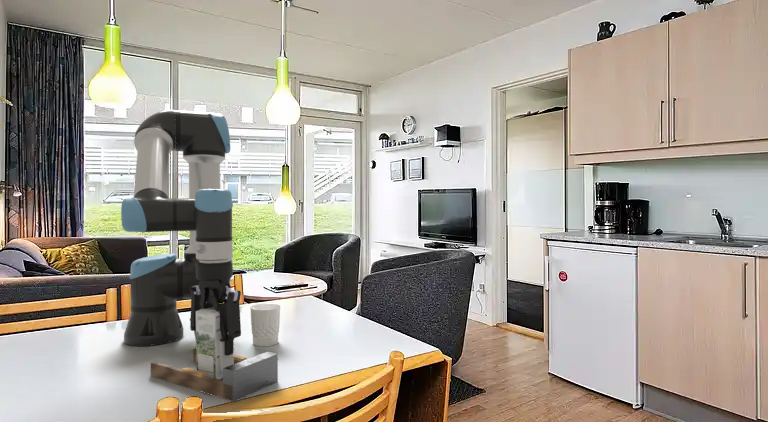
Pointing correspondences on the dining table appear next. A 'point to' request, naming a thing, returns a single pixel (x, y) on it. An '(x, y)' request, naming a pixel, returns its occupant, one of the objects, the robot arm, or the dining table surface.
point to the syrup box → (209, 342)
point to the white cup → (265, 324)
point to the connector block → (251, 375)
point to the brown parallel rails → (193, 377)
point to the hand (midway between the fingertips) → (215, 366)
